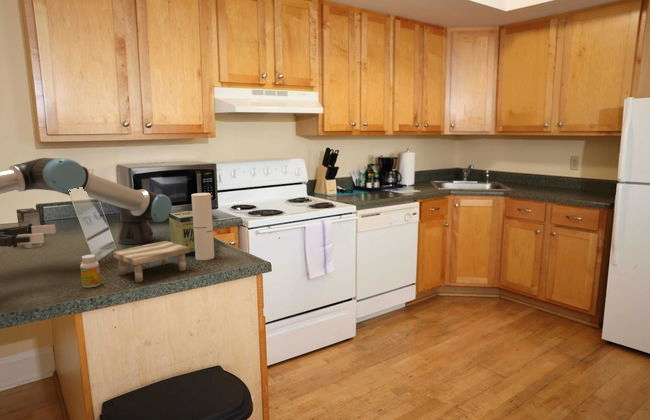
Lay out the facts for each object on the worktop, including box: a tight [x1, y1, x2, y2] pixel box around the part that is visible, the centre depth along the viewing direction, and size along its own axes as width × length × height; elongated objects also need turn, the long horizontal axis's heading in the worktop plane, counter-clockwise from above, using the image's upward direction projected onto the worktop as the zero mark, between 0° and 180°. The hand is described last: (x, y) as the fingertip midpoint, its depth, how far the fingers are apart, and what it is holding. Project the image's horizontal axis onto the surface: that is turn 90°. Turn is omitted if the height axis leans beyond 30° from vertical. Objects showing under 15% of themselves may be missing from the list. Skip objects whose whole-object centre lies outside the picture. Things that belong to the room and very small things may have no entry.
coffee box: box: [16, 207, 44, 249], centre depth 198 cm, size 9×6×16 cm
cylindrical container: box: [191, 192, 215, 261], centre depth 174 cm, size 7×7×25 cm
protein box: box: [168, 210, 195, 257], centre depth 186 cm, size 10×16×16 cm
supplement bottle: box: [80, 254, 102, 289], centre depth 146 cm, size 5×5×10 cm
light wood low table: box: [112, 240, 189, 283], centre depth 159 cm, size 16×20×8 cm
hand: (49, 233), depth 140 cm, fingers open, 13 cm apart
